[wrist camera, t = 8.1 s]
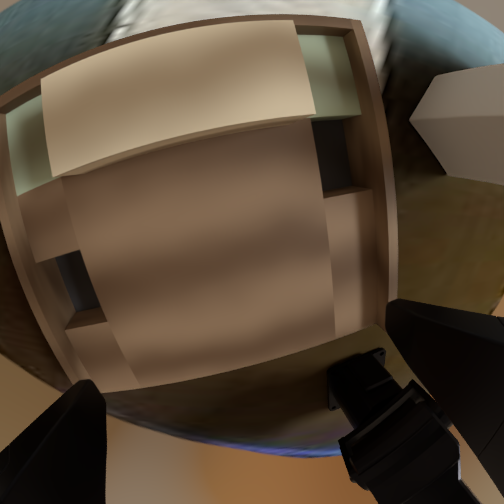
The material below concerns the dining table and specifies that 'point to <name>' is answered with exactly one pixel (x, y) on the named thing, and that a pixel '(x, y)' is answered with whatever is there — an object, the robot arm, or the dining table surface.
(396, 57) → the dining table surface
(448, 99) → the milk carton
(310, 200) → the open tray box
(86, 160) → the cream rectangular block
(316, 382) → the dining table surface
